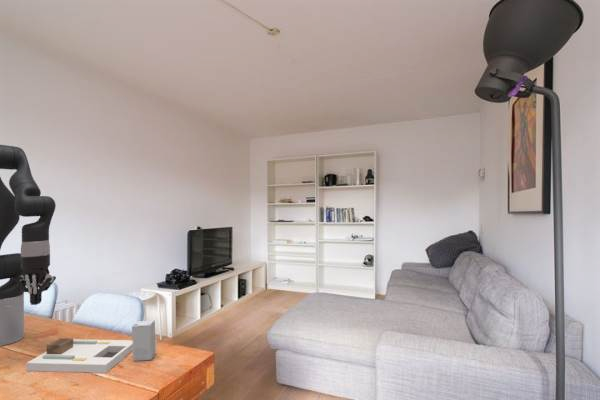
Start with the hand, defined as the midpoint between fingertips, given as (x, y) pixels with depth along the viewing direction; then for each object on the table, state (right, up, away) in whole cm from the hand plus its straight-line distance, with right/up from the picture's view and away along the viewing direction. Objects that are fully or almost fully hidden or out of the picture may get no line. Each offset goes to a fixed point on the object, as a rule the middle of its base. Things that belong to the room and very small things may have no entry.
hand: (35, 304), depth 102 cm
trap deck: (+18, -18, -1) cm, 25 cm away
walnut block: (+9, -16, 0) cm, 18 cm away
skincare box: (+38, -18, -1) cm, 42 cm away
